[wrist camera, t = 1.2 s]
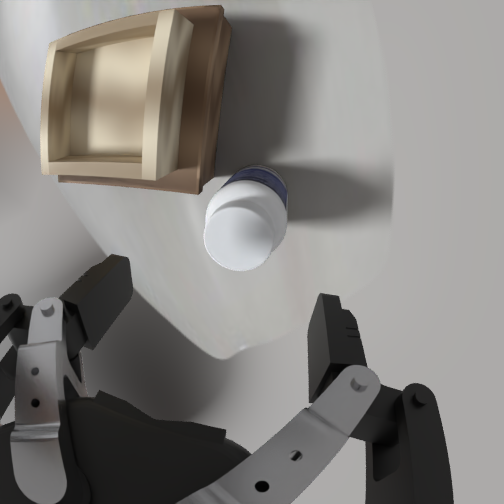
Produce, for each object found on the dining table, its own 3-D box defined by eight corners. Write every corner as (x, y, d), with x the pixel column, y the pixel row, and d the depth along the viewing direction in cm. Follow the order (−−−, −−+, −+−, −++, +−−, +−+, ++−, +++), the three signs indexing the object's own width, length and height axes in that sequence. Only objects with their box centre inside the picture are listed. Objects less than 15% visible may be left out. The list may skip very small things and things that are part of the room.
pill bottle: (223, 166, 23) (183, 197, 14) (285, 162, 22) (283, 189, 13) (231, 224, 25) (200, 282, 17) (289, 221, 24) (288, 281, 16)
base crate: (98, 42, 17) (67, 35, 13) (234, 26, 17) (221, 5, 12) (89, 169, 24) (58, 182, 20) (215, 179, 23) (198, 194, 19)
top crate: (76, 46, 14) (49, 43, 11) (193, 24, 13) (174, 8, 10) (69, 164, 19) (42, 174, 16) (177, 169, 18) (155, 180, 15)
